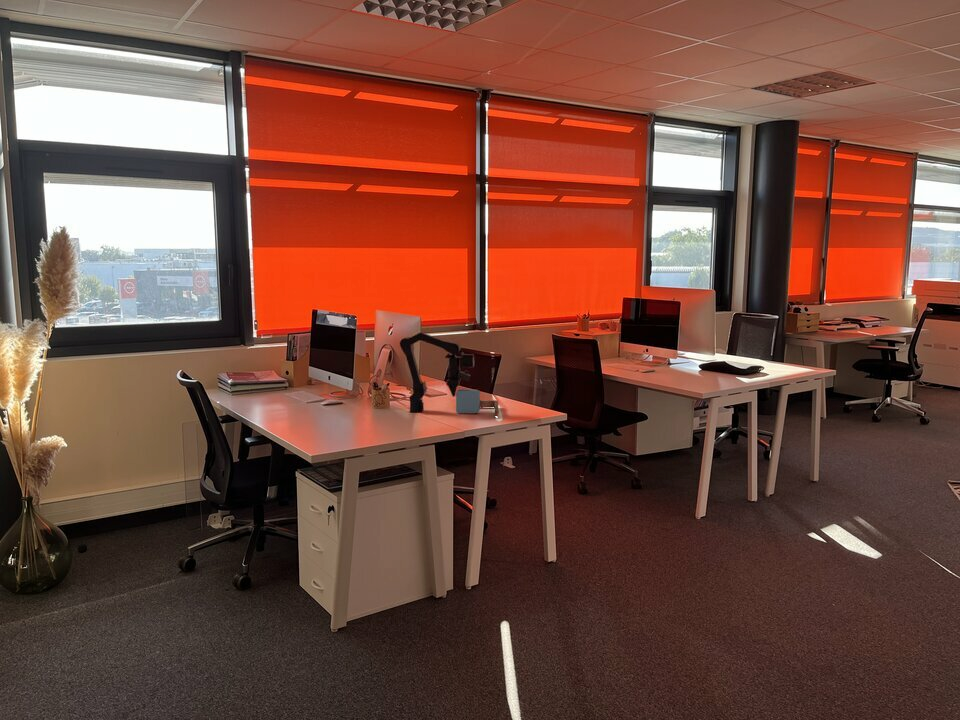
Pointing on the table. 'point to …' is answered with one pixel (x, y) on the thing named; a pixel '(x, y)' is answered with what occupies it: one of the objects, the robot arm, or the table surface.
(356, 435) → the table surface
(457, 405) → the data package
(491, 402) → the brown angled bar
